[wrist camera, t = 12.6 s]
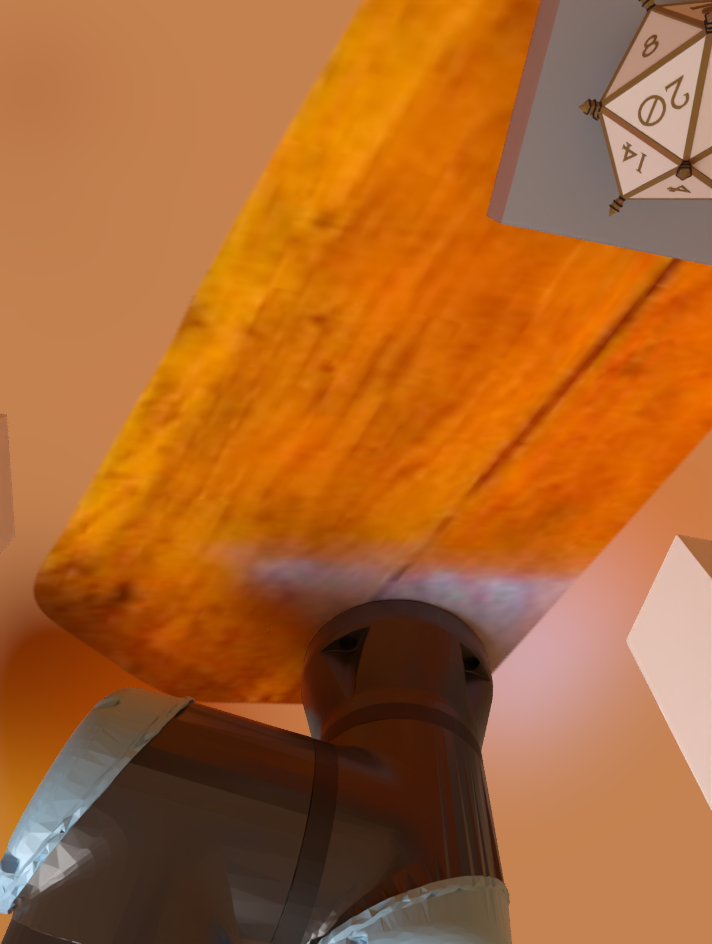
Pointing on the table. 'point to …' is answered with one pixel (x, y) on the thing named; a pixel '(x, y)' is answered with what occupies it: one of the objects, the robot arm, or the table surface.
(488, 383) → the table surface
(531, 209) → the gray block
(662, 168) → the game die
